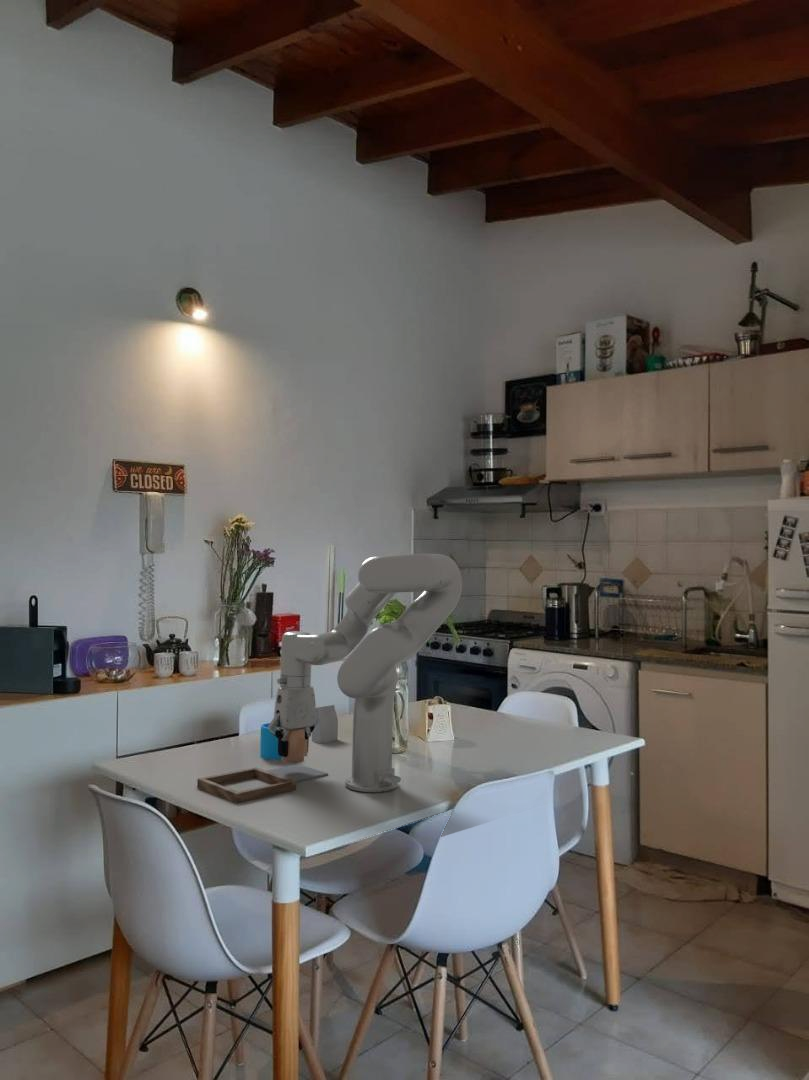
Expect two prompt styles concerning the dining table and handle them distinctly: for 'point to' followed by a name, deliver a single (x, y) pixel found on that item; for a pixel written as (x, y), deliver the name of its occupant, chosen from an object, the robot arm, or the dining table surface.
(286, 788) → the wooden square frame
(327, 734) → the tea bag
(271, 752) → the mug
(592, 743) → the dining table surface
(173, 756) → the dining table surface
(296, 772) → the mat
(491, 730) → the dining table surface
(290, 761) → the jug
